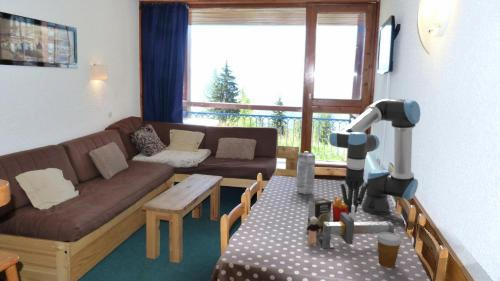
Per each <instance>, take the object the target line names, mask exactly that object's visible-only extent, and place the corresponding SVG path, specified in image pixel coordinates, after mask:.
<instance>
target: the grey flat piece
mask: <svg viewBox="0 0 500 281" xmlns="http://www.w3.org/2000/svg"><path fill="white" fill-rule="evenodd" d="M340 222H344V223H345V224H346V235H341V234H338V235H339V236H340V238H341V239H342V240H343V242H345V244H346V245H353V242H354V234H353V232H354V222H355V219H354V220H353V219H352V218H351V217H350V216H349V215H348V214H347V213H340Z"/></svg>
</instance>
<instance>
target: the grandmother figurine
mask: <svg viewBox="0 0 500 281" xmlns="http://www.w3.org/2000/svg"><path fill="white" fill-rule="evenodd" d="M310 221H311V223H312V224H310V225H309V226H308V227H307V226H306V229H305V230H304V233H305V234H308V236H307V242H306V244H308V246H312V245H313V244H316V245H317V236H316V233H317V229H318V230H319V232H321V230H320V226H319V225H317V224H316V223H317V221H318V219H317V218H316V217H311V219H310ZM308 230H310V231H309V233H308Z"/></svg>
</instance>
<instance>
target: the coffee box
mask: <svg viewBox="0 0 500 281" xmlns="http://www.w3.org/2000/svg"><path fill="white" fill-rule="evenodd" d="M331 201H332V200H329V199H326V198H316V199H310V200H309V199H308V208H307V209H308V211H307V225H306V228H307V227H308V226H309V225H310V224H312V223H311V221H310V219H311V217H316V218H317V219H318V221H317V223H316V224H317V225H319V226H320V230H321V232H319V230H318V229H317V233H316V237H320V236H323V222H331V216H332V214H331V212H332V202H331ZM309 231H310V230H308V232H307V234H309Z"/></svg>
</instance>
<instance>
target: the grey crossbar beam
mask: <svg viewBox="0 0 500 281" xmlns="http://www.w3.org/2000/svg"><path fill="white" fill-rule="evenodd" d="M381 232H390V233H394V234H395V224H394V223H392V222H391V221H389V220H388V221H387V220H385V221H354V232H353V235H361V234H362V235H368V234H369V235H372V234H373V235H375V234H376V235H378V234H379V233H381ZM339 234H341V235H346V224H345V223H344V222H333V221H330V222H323V235H322V237H321V238H322V239H318V240H317V242H319V243H318V244H319V245H320V247H321V248H322V250H335V246H334V245H333V244H332V242H331V239H332V238H331V236H332V235H339Z"/></svg>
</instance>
